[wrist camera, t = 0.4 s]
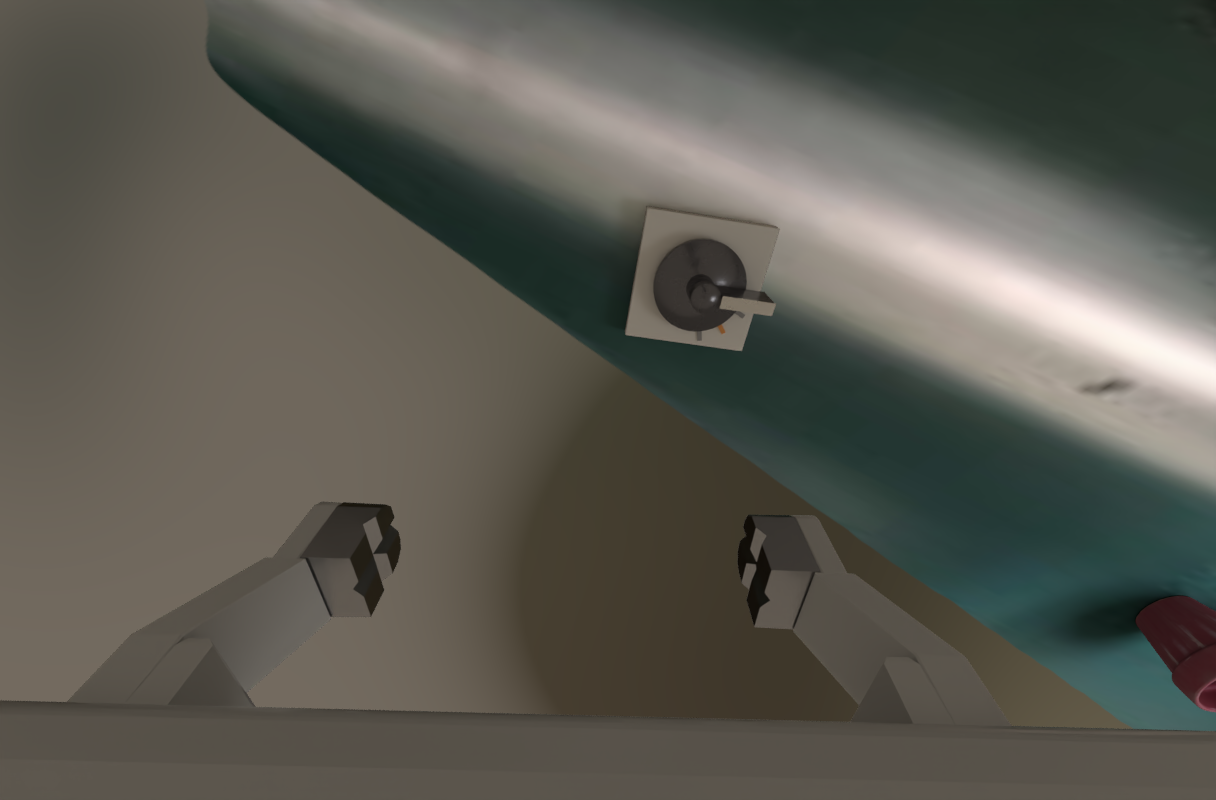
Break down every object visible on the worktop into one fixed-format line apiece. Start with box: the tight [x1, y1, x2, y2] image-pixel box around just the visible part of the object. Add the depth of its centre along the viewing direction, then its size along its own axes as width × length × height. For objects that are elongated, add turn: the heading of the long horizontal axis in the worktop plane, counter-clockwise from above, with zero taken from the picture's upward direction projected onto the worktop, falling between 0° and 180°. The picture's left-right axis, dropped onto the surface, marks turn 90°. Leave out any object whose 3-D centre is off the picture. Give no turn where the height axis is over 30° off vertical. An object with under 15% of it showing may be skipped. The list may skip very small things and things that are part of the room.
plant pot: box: [1136, 596, 1216, 712], centre depth 75 cm, size 14×14×13 cm
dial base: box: [625, 206, 780, 351], centre depth 52 cm, size 14×14×2 cm
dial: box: [653, 238, 776, 332], centre depth 49 cm, size 12×10×5 cm
